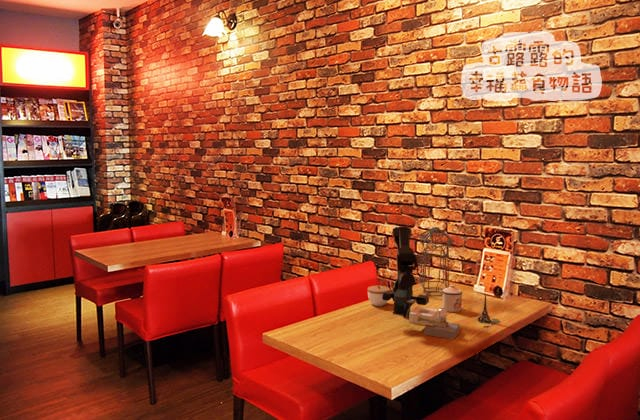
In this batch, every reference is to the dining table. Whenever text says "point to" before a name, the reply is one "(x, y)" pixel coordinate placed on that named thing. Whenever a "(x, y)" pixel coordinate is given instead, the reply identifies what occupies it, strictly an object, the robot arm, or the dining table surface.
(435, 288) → the geometric lantern
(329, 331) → the dining table surface
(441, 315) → the steel pin
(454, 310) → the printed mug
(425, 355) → the dining table surface
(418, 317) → the brass guide bars
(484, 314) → the eiffel tower figurine
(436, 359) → the dining table surface
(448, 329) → the socket block
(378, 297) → the lidded jar
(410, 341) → the dining table surface
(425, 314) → the square hole block
